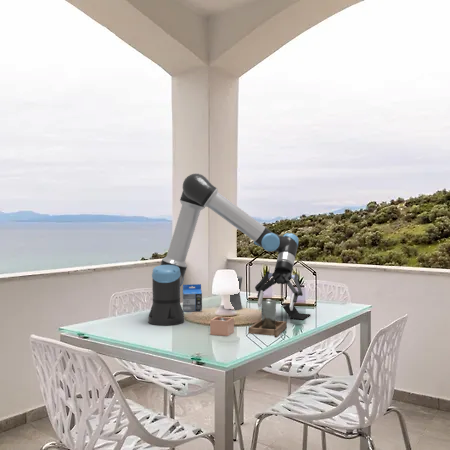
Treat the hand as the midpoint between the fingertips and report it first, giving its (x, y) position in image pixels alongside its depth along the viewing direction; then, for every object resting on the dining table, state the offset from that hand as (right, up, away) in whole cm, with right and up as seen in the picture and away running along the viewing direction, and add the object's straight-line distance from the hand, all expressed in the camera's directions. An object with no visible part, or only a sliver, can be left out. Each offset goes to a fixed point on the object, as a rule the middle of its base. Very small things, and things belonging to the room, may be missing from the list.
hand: (274, 307), depth 214 cm
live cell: (-3, -7, -10) cm, 13 cm away
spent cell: (-22, -7, -17) cm, 28 cm away
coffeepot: (-17, -6, +36) cm, 40 cm away
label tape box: (-36, -7, +29) cm, 47 cm away
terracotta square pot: (-22, -8, -17) cm, 28 cm away
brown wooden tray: (-4, -8, -11) cm, 14 cm away
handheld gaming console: (+11, -7, +15) cm, 20 cm away
